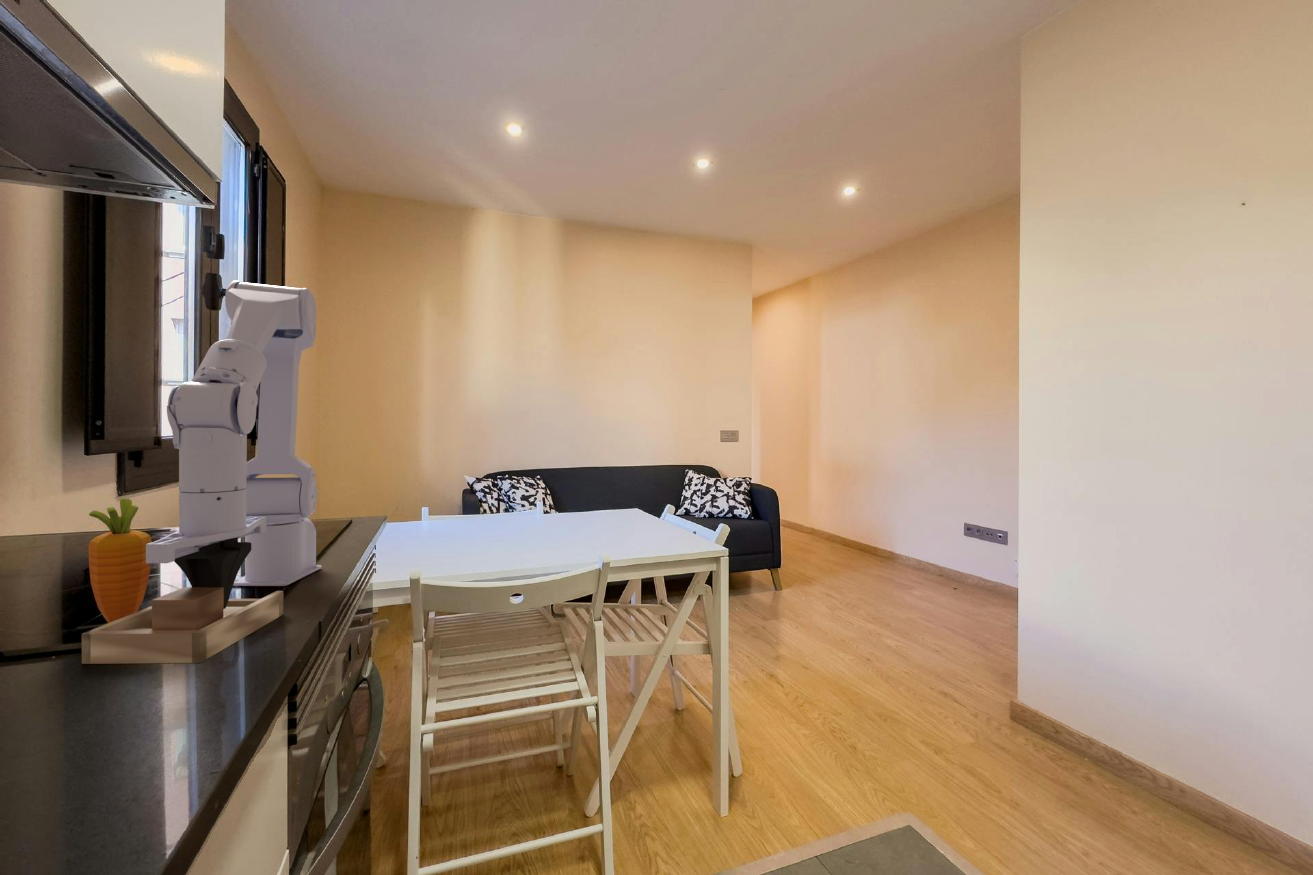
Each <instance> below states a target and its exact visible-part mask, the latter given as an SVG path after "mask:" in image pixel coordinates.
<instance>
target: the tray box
mask: <svg viewBox="0 0 1313 875" xmlns="http://www.w3.org/2000/svg"><path fill="white" fill-rule="evenodd" d="M281 616H284V591H283V590H276V591H274V592H271V593H270V594H267V595H266V596H264V597H262V598H229V600H228V603H227V606H226V608H225V609H223V618H222V619H220V620H218V621H216V622H214V623H212V624H210V625H208V626H206V627H204V628H202V629H200V630H152V605H151V606H148V607H145V608H143V609H141V610H140V609H139V610H138V611H137V612H135V613H133V614H130V615H128V616H125V617H123V618H120V619H118V620H115V621H113V622H110V623H108V622H107V623H106V624H103V625H100V626H98V627H95V628H93V629H91V630H87V631H85V632H83V633H81V664H84V665H86V664H87V665H88V664H90V665H93V664H94V665H95V664H97V665H98V664H100V665H101V664H107V665H109V664H110V665H111V664H201V663H203V662H205V661H206V660H208V659H210V658H212V657H213V656H215V655H216V654H218V653H220V652H221V651H223V650H225V649H227V648H228V647H230V646H232V645H233V644H235V643H236V642H238V641H240V640H242V639H244V638H246V637H247V636H249V635H250V634H252V633H254V632H256V631H258V630H259V629H261V628H263V627H264V626H266V625H269V623H271V622H273V621H274V620H275V621H276V619H278V618H279V617H281Z"/></svg>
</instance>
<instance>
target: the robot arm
mask: <svg viewBox="0 0 1313 875" xmlns="http://www.w3.org/2000/svg"><path fill="white" fill-rule="evenodd" d="M224 299H225V300H224V302H225V304H224V305H225V309H226V313H227V315H228V318H229V319H230V321H231V325H230V327H229V331H228V333H227V336H226V339H222V340H219V341H216V342H214V343H213V344H212V345H211V346H210V347H209V349H207V352H206V354H205V355H204V358H203V360H202V361H201V363H200V365H199V367H198V369H197V370H196V372H195V374H194V375H193V377H192V379H191V381H184V382H183V383H182V384H181V385H176V386H174V387H173V388H171V389H172V390H170V393H169V395H168V398H167V400H168V401H167V405H166V416H167V420H168V424H169V426H170V428H171V432H172V444H173V448H174V449H177V450H178V451H179V452H178V461H179V462H178V468H179V469H178V527H176V528H171V529H170V530H169V534H168V535H166V536H164V537H162V538H159V539H158V540H155V541H153V542H152V543H148V544H146V563H151V564H170V563H172V562H174V563H175V564H176V565H177V566H178V567H179V569H181V571H182V572H183V574H184V575H185V576H186V579H187V580H188V582H189V583H190V587H224V607H223V609H225V608H226V606H227V603H228V600H229V599H230V596H231V594H232V590H233V588H234V587H236V586H237V587H240V586H242V587H285V586H289V585H291V584H292V583H294V582H296V581H298V580H301V579H303V578H305V577H306V576H308V575H311V574H313V573H314V572H316V571H318V570H320V569H322V568H323V566H322V564H317V530H316V527H315V526H316V525H314V523H313V522H312V520H311V519H309V517H311V516H312V514H313V513H315V510H316V508H317V507H316V506H317V502H318V487H317V486H318V485H317V481H316V480H317V479H316V478H317V477H316V474H317V473H316V471H315V469H314V467H313V466H312V465H310V464H309V463H308V462H306V461H304V460H303V459H301V458H300V457H298V456H297V455H296V445H297V444H296V443H297V441H296V439H297V419H298V418H297V417H298V396H299V377H300V376H299V375H300V374H299V373H300V372H299V371H300V361H301V358H302V354H303V351H304V350H307V349H310V348H312V347H314V345H315V340H316V337H317V334H316V332H317V314H318V313H317V304H316V298H315V296H314V293H313V292H312V291H311V290H310V288H307V287H302V288H301V287H292V286H291V287H289V286H280V285H273V284H272V285H270V284H262V283H253V282H252V283H251V282H243V281H241V280H232V281H231V282H230V283H229V284H228V286H227V287H226V290H225V295H224ZM259 386H260V387H259ZM258 388H259V397H258V395H257V390H258ZM258 401H259V404H258ZM257 405H258V423H257V424H258V426H257V443H256V444H257V447H256V456H255V457H253V458H251V459H250V460H247V459H248V458H247V456H248V454H247V452H248V446H247V445H248V443H247V442H248V438H247V437H248V434H250V433H251V432H252V431H253V428H254V426H255V423H256V418H257ZM262 475H294V476H296V477H258V476H262ZM241 538H244V541H239V539H241ZM243 563H244V575H243V576H241V577H239V578H237V575H238V573H239V571H240V569H241V568H242V565H243ZM236 578H237V579H236Z"/></svg>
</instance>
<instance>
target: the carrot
mask: <svg viewBox="0 0 1313 875" xmlns="http://www.w3.org/2000/svg"><path fill="white" fill-rule="evenodd" d="M119 505H120V514H121V515H119V513H118V510H117V509H116V508H115V507H114V506H111V507H107V508H106V511H107V513H108V515H109V516H108V515H106V513H103V512H101V511H97V510H92V511H90V512H89V514H88V516H90V517H93V518H95V519H98V520H99V521H101V522H102V523H103V524H105V525H106V527H107V528H108V529H109V530H110V531H109V532H105V533H102V534H100V535H97V536H95V537H94V538H93V539H91V540H90V541H89V544H88V548H87V549H88V568H89V569H88V570H89V578H90V586H91V589H92V592H93V595H94V596H93V597H94V600H95V602H96V605H97V608H98V610H99V612H100V613H101V614H102V617H103V618H104V620H106V622H107V624H108V623H110V622H113V621H115V620H118V619H120V618H123V617H125V616H128V615H130V614H133V613H135V612H138V611H139V610H140V609H139V608H140V607H141V605H142V603H143V601H144V598H145V594H146V592H147V591H146V590H147V587H148V583H149V578H150V575H151V574H150V573H151V564H152V563H146V544H148V543H152V538H151V535H150V534H148V533H147V532H145V531H140V530H137V529H131V524H132V521H133V520H134V517H135V515H136V514H137V512H138V510H139V507H138V506H137V505H136V504H133V501H132V500H131V499H129V498H122V499H120V500H119Z"/></svg>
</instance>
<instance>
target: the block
mask: <svg viewBox="0 0 1313 875" xmlns="http://www.w3.org/2000/svg"><path fill="white" fill-rule="evenodd" d="M151 606H152V630H200V629H202V628H204V627H206V626H208V625H210V624H212V623H214V622H216V621H218V620H220V619H222V618H223V607H224V587H192V586H190V587H189V586H188V587H186V586H185V587H182V588H179V589H176V590H175V591H172V592H169V593H167V594H164V595H161V596H159V597H156V598H153V599H152V600H151Z"/></svg>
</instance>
